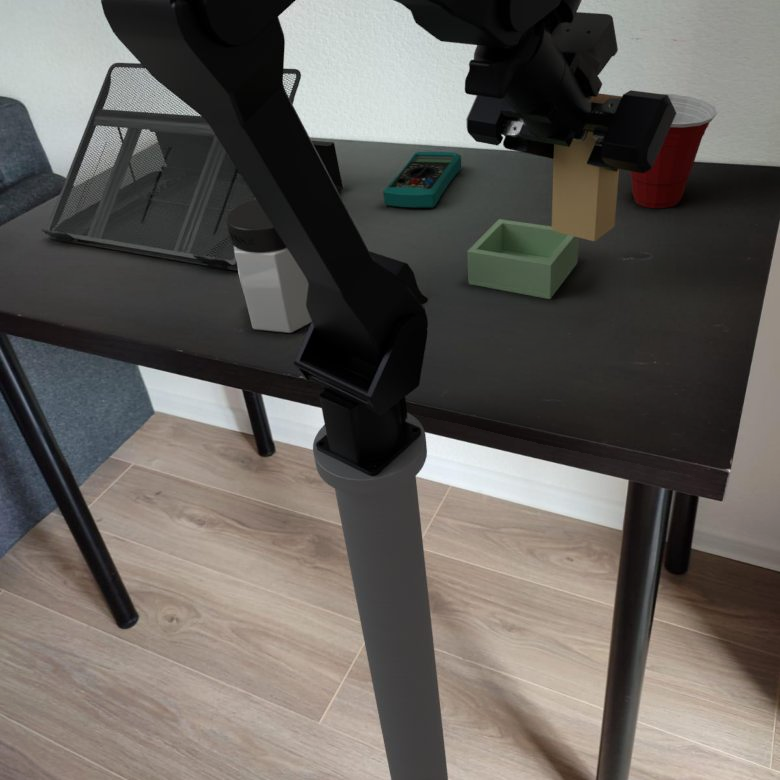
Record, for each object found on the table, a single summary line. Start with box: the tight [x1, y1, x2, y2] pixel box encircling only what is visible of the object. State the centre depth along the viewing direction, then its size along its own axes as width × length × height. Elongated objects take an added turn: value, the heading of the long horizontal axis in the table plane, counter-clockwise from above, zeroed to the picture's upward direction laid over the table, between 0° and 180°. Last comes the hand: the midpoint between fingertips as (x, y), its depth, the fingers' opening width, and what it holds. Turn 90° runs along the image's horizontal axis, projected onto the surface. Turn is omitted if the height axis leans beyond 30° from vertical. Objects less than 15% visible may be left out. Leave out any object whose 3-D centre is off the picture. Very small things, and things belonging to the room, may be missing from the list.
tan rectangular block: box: [551, 92, 623, 242], centre depth 76 cm, size 4×5×13 cm
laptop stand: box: [40, 62, 344, 272], centre depth 105 cm, size 33×28×18 cm
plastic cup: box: [629, 93, 718, 209], centre depth 96 cm, size 11×11×12 cm
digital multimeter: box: [382, 151, 462, 209], centre depth 109 cm, size 7×15×3 cm, turn 161°
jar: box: [226, 199, 312, 334], centre depth 82 cm, size 9×8×12 cm
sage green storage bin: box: [466, 218, 580, 300], centre depth 86 cm, size 9×10×4 cm
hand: (593, 162), depth 77 cm, fingers closed on tan rectangular block, 5 cm apart
